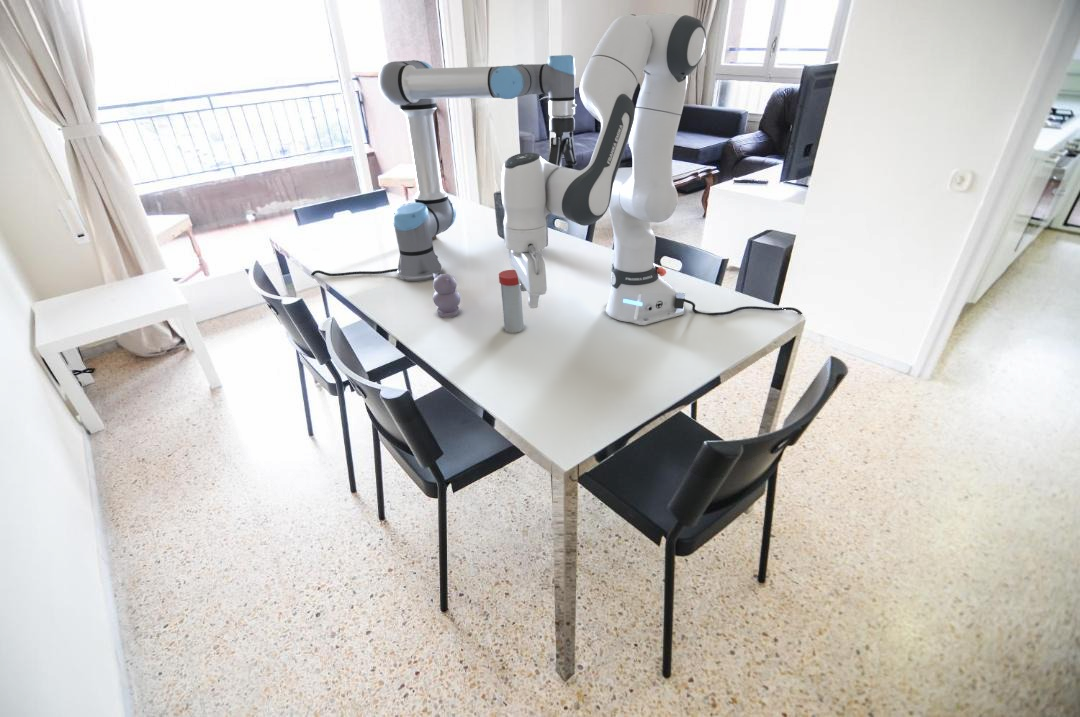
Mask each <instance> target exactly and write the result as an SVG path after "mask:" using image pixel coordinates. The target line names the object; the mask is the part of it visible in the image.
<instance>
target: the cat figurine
mask: <svg viewBox="0 0 1080 717" xmlns="http://www.w3.org/2000/svg"><path fill="white" fill-rule="evenodd" d="M433 276H434V278H433V282H432V286H433V289H434V291H435V292H434V293H433V294H432V295H433V296H432V302H433V303H434V305H435V306H436V307H437V309H436V312H437V316H438V317H440V318H452V317H455V316H457V315H458V314H459V313H460V307H459V305H460V303H461V300H462V296H461V294H460V293H459V291H458V290H457V287H458V283H457V280H456V279H455V277H454V276H453V275H450V274H447V273H441V274H440V275H437V274H434V273H433Z"/></svg>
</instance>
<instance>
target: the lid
mask: <svg viewBox="0 0 1080 717" xmlns="http://www.w3.org/2000/svg"><path fill="white" fill-rule="evenodd" d="M498 283H499V284H500V285H501V284H502V285H506V286H513V285H518V284H519V280H518V276H517V273H516V271H515V269H505V270H502V271H500V272H499V273H498Z"/></svg>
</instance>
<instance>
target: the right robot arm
mask: <svg viewBox="0 0 1080 717" xmlns="http://www.w3.org/2000/svg"><path fill="white" fill-rule="evenodd" d="M706 44H707V32H706V29H705V27H704V24H703V21H701V20H700V19H699V18H697V17H695V16H691V15H689V14H688V15H687V14H684V15H678V14H672V13H663V12H657V13H646V14H623V15H620V16H618V17H617V18H616V19H614V20H613V21H612V23H610V25H609V27H608V28H607V29H606V31H605V32H604V34H603V35H602V36H601V38H600V40H599V42H598V43H597V45H596V47H595V48H594V50H593V52H592V54H591V56H590V58H589V60H588V63H587V64H586V66H585V69H584V71H583V72H582V76H581V78H580V82H579V86H578V89H579V97H580V101H581V103H582V104H583V105H582V106H584V108H585V109H586V111H588V113H589V114H591V116H592V117H593V118H594V119H596V120H597V121H598V122H599V123H600V131H599V134H598V137H597V140H596V143H595V145H594V149H593V152H592V155H591V158H590V161H589V163H588V165H587V166H586V167H584V168H582V169H580V170H579V169H575V168H574V169H569V168H566V167H565V166H561V165H560V166H558V165H555V164H552V163H549V161H547V160H545V159H544V158H542V156H541V155H540V154H539V153H537V152H530V151H529V152H528V151H527V152H521V153H516V154H514V155H511V156H509V157H508V158H507V159H506V160H505V161H504V163H503V166H502V170H501V186H500V187H501V188H500V189H501V190H502V204H503V207H504V210H505V218H504V236H505V240H504V246H505V249H506V250H508V255H509V261H510V264H511V266H512V269H513V270H515V271H516V273H517V276H518V280H519V288H520V290H521V291H522V292H527V294H528V306H529V308H530V309H537V308H538V307H539V298H540V296H544V295H546V294H547V288H548V287H547V273H546V263H545V259H544V257H543V256H542V250H543V249H545V248H547V247H548V246H547V227H546V216H547V215H553V216H557V217H560V218H564V219H567V220H569V221H571V222H573V223H575V224H577V225H580V226H583V227H585V226H591V225H593V224H595V223H597V222H598V221H599V220H600V219H602V217H604V215H605V214H606V212H607V211H608V210H609V215H610V221H611V227H612V231H613V232H612V234H613V261H612V264H611V271H610V284H611V287H610V292H609V297H608V301H607V304H606V307H605V313H606V314H607V315H608V316H609V317H610V318H612V319H614V320H617V321H621V322H627V323H633V324H635V325H639V326H647V325H651V324H653V323H657V322H662V321H665V320H668V319H672V318H676V317H679V316H682V315H684V314H685V306H684V305H685V303H686V304H690V305H691V310H692V312H694V313H695V314H701V315H706V316H723V315H730V314H734V313H736V312H739V311H742V310H762V311H772V312H774V311H779V312H780V311H793V312H796V313H797V314H799V315H803V312H802V311H801V310H800V309H799V308H796V307H791V306H787V307H768V306H755V305H747V306H739V307H736V308H734V309H732V310H727V311H720V312H702V311H699V310H697V309H696V304H695V303H694V302H693V301H692V300H689V299H687V298H685V297H686V292H680V291H676V290H675V288H674V287H673V286H672V285H670V284H669V283H668V282H667V281H665V279H663V278H662V277H664V276H665V275H666V274H667V270H666V269H664V267H662V266H659V265H658V264H656V263H655V253H656V245H657V241H656V240H657V239H656V234H655V232H654V231H653V229H652V226H651V223H656V224H658V223H663V222H665V221H667V220H668V219H670V218H671V217H672V216H673V215H674V213H675V211H676V210H677V207H678V203H679V195H678V191H677V190H678V189H677V188H676V186H675V182H674V176H673V152H674V148H675V147H674V146H675V142H676V137H677V134H678V129H679V126H680V121H681V117H682V114H683V109H684V105H685V99H686V94H687V86H688V76H689V75H690V74H692V73H693V72H694V70H695V69H696V68H697V67H698V65H699V64H700V62H701V61H702V58H703V56H704V53H705V49H706ZM643 74H644V78H643V81H642V83H641V87H640V90H639V93H638V97H637V100H636V104H635V105H634V102H633V97H634V94H635V91H636V89H637V87H638V84H639V82H640V80H641V78H642V76H643ZM627 145H628V146H629V149H630V153H631V158H632V159H631V160H632V167H627V166H626V167H620V165H621V162H622V158H623V156H624V153H625V150H626V147H627ZM501 190H500V191H501ZM546 246H547V247H546ZM782 308H783V309H782ZM784 309H786V310H784Z"/></svg>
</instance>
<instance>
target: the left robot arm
mask: <svg viewBox="0 0 1080 717" xmlns="http://www.w3.org/2000/svg"><path fill="white" fill-rule="evenodd" d="M377 85H378V89H379V92H380V93H381V95H382V96H383V97H384V99H385V100H387V101H388V102H389V103H390V104H393V105H396V106H399V111H400V112H401V113H403V114H404V116H405V119H406V124H407V125H406V126H407V132H408V137H409V144H410V151H411V156H412V162H413V170H414V175H415V176H414V177H415V182H416V187H417V192H416V193H415V194H414V202H409V203H407V204H406V203H404V204H402V205H400V206H398V207H396V208H395V209H394V210H393V213H392V219H393V221H392V224H393V227H394V230H395V231H394V232H395V236H396V241H397V247H398V251H399V259H398V265H397V268H392V269H385V270H375V271H370V270H366V271H364V270H363V271H362V270H361V271H360V270H359V271H347V272H338V273H337V272H336V273H335V272H334V273H331V272H326V271H323V270H318V269H317V270H313V271H312V272H311V274H310V276H315V275H316V274H321V275H323V276H328V277H342V276H344V277H345V276H350V275H351V276H354V275H381V274H388V273H395V272H397V276H398V278H399V279H400V280H402V281H406V282H413V283H414V282H425V281H429V280H432V279H433V280H434V276H433V273H434V274H437V275H441V274H443V268H442V264H441V263H440V260H439V257H438V255H437V254H436V252H435V250H434V243H433V240H432V237H434V236H436V237H437V236H438V235H439V234H441V233H444V232H446V231H447V230H449V228H451V227H452V226H453V225H454V223H455V221H456V216H457V212H456V207H455V205H454V202H452V201H451V199H450V198H449V194H448V192H447V191H445V190H444V188H443V182H442V174H441V167H440V160H439V153H438V152H439V151H438V145H437V137H436V130H435V122H434V113H435V111H436V110H437V101H436V100H437V99H439V100H440V99H502V100H513V99H515V98H518V97H523V96H524V97H525V96H529V95H547V94H548V115H549V116H550V117H549V120H548V121H549V123H548V124H549V132H551V133H554V137H550V148H549V154H548V162H549V163H552V164H555V165H558V166H561V163H562V159H564V161H565V165H564V167H566V168H569V169H575V165H577V164H578V163H577V154H576V149H575V143H574V131H575V130H576V118H575V117H574V116H575V114H576V108H577V104H576V98H575V97H576V66H575V57H574V56H573V55H572V54H562V55H561V54H560V55H559V54H558V55H549V56H548V57H547V63H541V64H539V63H538V64H533V63H531V64H529V63H528V64H524V63H521V64H513V65H499V66H498V65H497V66H469V67H468V66H467V67H466V66H465V67H464V66H463V67H433V66H431V65H430V64H429V63H428V62H425V61H424V60H423V61H422V60H416V59H412V60H400V61H399V60H398V61H397V60H395V61H391V62H387V63H386V64H384V65H383V66H382V67H381V69H380V71H379V72H378V77H377ZM563 157H564V158H563Z"/></svg>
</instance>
